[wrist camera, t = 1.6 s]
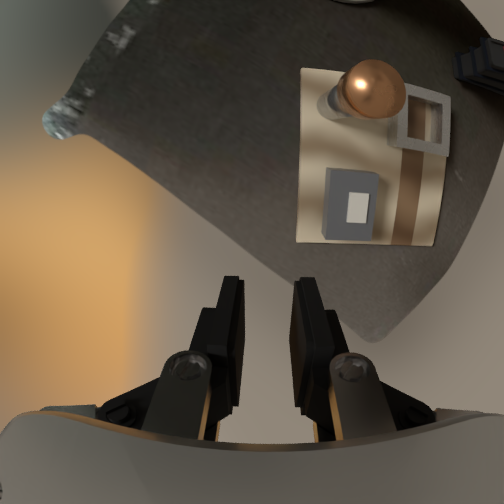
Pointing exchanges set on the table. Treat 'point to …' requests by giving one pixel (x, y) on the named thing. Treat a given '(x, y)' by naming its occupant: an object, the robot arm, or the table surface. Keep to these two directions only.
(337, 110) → the awl
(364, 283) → the table surface
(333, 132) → the board
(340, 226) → the block
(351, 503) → the robot arm
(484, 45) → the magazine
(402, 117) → the socket
